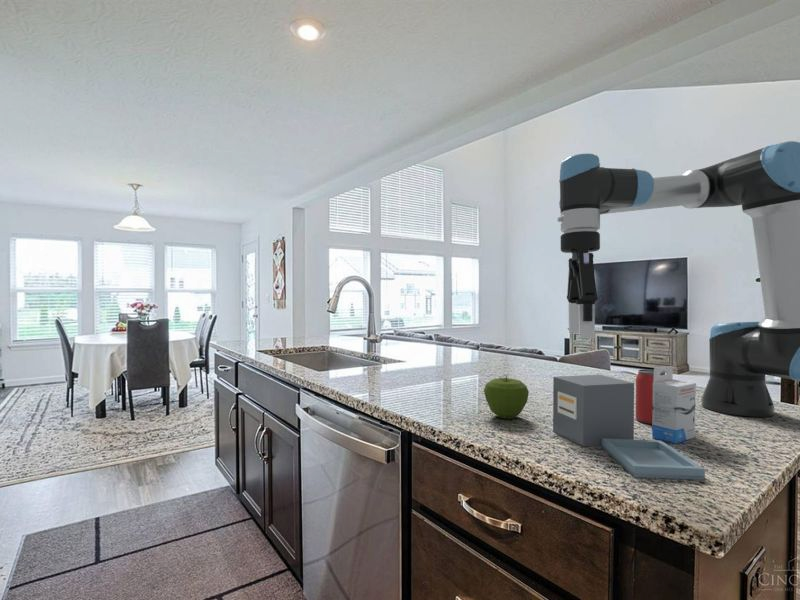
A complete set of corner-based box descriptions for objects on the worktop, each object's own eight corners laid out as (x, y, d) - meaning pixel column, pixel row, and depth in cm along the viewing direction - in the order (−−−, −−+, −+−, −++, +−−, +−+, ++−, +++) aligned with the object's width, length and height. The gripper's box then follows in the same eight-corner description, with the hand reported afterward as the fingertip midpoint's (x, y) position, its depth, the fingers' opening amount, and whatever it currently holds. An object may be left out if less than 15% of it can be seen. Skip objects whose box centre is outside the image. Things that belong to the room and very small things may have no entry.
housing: (600, 427, 98) (600, 374, 98) (634, 441, 88) (635, 383, 88) (551, 431, 95) (552, 376, 95) (581, 446, 85) (582, 385, 85)
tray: (660, 449, 84) (660, 440, 84) (704, 480, 70) (704, 468, 70) (601, 447, 85) (601, 438, 85) (633, 477, 71) (633, 466, 71)
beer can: (663, 419, 105) (663, 369, 105) (670, 426, 99) (671, 374, 99) (633, 416, 107) (633, 368, 107) (638, 423, 101) (638, 372, 101)
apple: (480, 411, 112) (481, 372, 112) (521, 411, 111) (522, 373, 111) (488, 423, 101) (488, 380, 101) (533, 423, 101) (533, 381, 100)
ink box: (677, 444, 87) (677, 371, 87) (651, 438, 91) (651, 368, 91) (696, 437, 91) (697, 368, 91) (671, 431, 96) (671, 364, 95)
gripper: (553, 240, 102) (554, 330, 102) (569, 223, 78) (570, 341, 78) (587, 239, 100) (588, 330, 101) (614, 221, 76) (615, 341, 76)
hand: (580, 335), depth 89 cm, fingers open, 13 cm apart
